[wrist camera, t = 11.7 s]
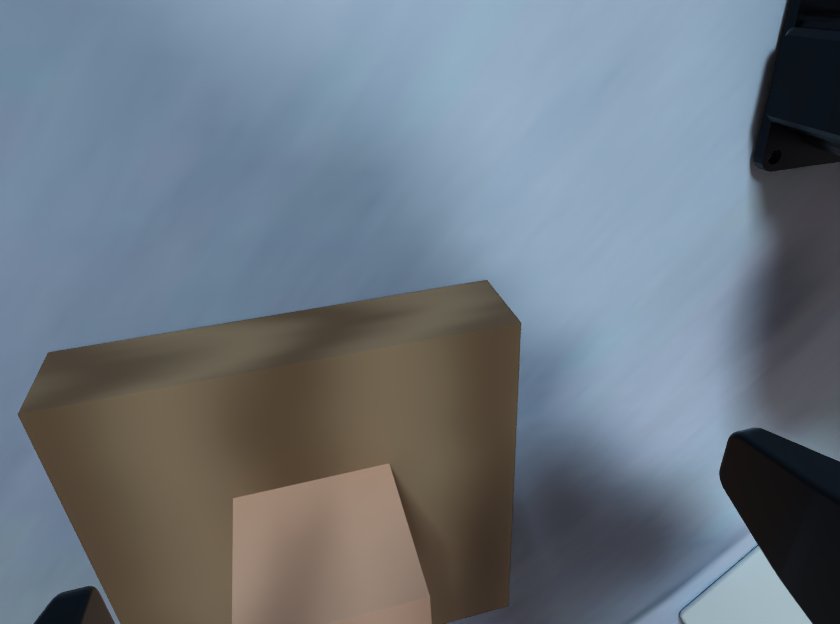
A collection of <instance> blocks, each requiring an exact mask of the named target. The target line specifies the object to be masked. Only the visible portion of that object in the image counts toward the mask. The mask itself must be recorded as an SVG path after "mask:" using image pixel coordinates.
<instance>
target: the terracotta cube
mask: <svg viewBox="0 0 840 624" xmlns="http://www.w3.org/2000/svg"><path fill="white" fill-rule="evenodd" d="M232 624H432V620H431V605H430V595H429V592H428V588H427V585H426V582H425V579H424V575H423V572H422V569H421V566H420V562H419V559H418V556H417V552H416V549H415V546H414V543H413V539H412V536H411V533H410V530H409V526H408V523H407V520H406V516H405V513H404V510H403V507H402V503H401V500H400V497H399V494H398V490H397V487H396V484H395V480H394V477H393V474H392V471H391V467H390V464H384V465H380V466H375V467H371V468H366V469H362V470H357V471H353V472H349V473H344V474H340V475H335V476H331V477H326V478H322V479H317V480H313V481H308V482H304V483H299V484H295V485H290V486H286V487H282V488H277V489H273V490H268V491H264V492H259V493H255V494H250V495H246V496H241V497H237V498H233V556H232Z"/></svg>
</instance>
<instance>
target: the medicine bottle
mask: <svg viewBox="0 0 840 624" xmlns="http://www.w3.org/2000/svg"><path fill="white" fill-rule="evenodd" d="M680 617H681V619H682V621H683V622H684V624H812V623H811V621H810V620H809V618H808V617H807V616H806V614H805V613H804V612H803V610H802V609H801V608H800V606H799V605H798V604H797V602H796V601H795V600H794V598H793V597H792V596H791V594H790V593H789V591H788V590H787V589H786V587H785V586H784V584H783V583H782V582H781V580H780V579H779V577H778V576H777V574H776V573H775V571H774V570H773V568H772V567H771V565H770V563H769V562H768V560H767V559H766V557H765V555H764V554H763V552H762V550H761V549H760V547H759V545H758V546H757V547H756V548H754V549H753V550H752V551H751V552H750V553H748V554H747V555H746V556H745V557H744V558H743V559H741V560H740V561H739V562H738V563H737V564H736V565H734V566H733V567H732V568H731V569H730V570H729V571H727V572H726V573H725V574H724V575H723V576H721V577H720V578H719V579H718V580H717V581H716V582H714V583H713V584H712V585H711V586H710V587H709V588H707V589H706V590H705V591H704V592H703V593H702V594H700V595H699V596H698V597H697V598H696V599H694V600H693V601H692V602H691V603H690V604H689V605H687V606H686V607H685V608H684V609H683V610H682V611H681V613H680Z"/></svg>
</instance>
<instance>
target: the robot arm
mask: <svg viewBox="0 0 840 624" xmlns="http://www.w3.org/2000/svg"><path fill="white" fill-rule="evenodd" d="M772 152H773V154H772V156H771V158H770V159H769V156H770V154H771V153H772ZM768 159H769V160H768ZM834 162H840V0H791V1H790V5H789V10H788V14H787V18H786V22H785V27H784V31H783V35H782V39H781V44H780V48H779V52H778V56H777V61H776V65H775V69H774V73H773V78H772V82H771V86H770V91H769V95H768V99H767V103H766V108H765V112H764V116H763V120H762V125H761V129H760V133H759V137H758V142H757V146H756V150H755V154H754V163H755V165H756V166H757V167H758V168H760V169H763V170H766V171H778V170H785V169H792V168H799V167H806V166H813V165H820V164H827V163H834ZM719 475H720V481H721V483H722V486H723V488H724V490H725V491H726V493H727V495H728V496H729V498H730V500H731V501H732V503H733V505H734V506H735V508H736V509H737V511H738V513H739V514H740V516H741V518H742V519H743V521H744V523H745V524H746V526H747V527H748V529H749V531H750V532H751V534H752V536H753V537H754V539H755V541H756V542H757V544H758V545H759V547H760V549H761V550H762V552H763V554H764V555H765V557H766V559H767V560H768V562H769V563H770V565H771V567H772V568H773V570H774V571H775V573H776V574H777V576H778V577H779V579H780V580H781V582H782V583H783V584H784V586H785V587H786V589H787V590H788V591H789V593H790V594H791V596H792V597H793V598H794V600H795V601H796V602H797V604H798V605H799V606H800V608H801V609H802V610H803V612H804V613H805V614H806V616H807V617H808V618H809V620H810V621H811V623H812V624H840V462H839V461H837V460H834V459H832V458H830V457H827V456H825V455H823V454H820V453H818V452H816V451H813V450H811V449H809V448H806V447H804V446H802V445H799V444H797V443H795V442H792V441H790V440H787V439H785V438H783V437H780V436H778V435H776V434H773V433H771V432H769V431H766V430H764V429H761V428H750V429H746V430H742V431H737V432H734V433H733V434H732V435H731V436H730V437H729V439H728V442H727V445H726V449H725V452H724V456H723V460H722V463H721V467H720V471H719ZM34 624H115V623H114V621H113V619H112V617H111V615H110V613H109V611H108V609H107V607H106V605H105V603H104V601H103V599H102V597H101V595H100V593H99V591H98V590H97V589H96V588H95V587H93V586H87V587H83V588H78V589H74V590H70V591H66V592H63V593H60V594H58V595H57V596H56V597H55V598H53V599H52V601H51V602H50V603H49V604H48V606H47V607H46V608H45V610H44V611H43V612H42V613H41V615H40V616H39V617H38V619H37V620H36V621H35V623H34Z"/></svg>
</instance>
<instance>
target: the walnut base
mask: <svg viewBox="0 0 840 624" xmlns="http://www.w3.org/2000/svg"><path fill="white" fill-rule="evenodd" d="M520 336H521V322H520V321H519V319H518V318H517V317H516V316H515V314H514V313H513V312H512V311H511V309H510V308H509V307H508V306H507V304H506V303H505V302H504V301H503V299H502V298H501V297H500V296H499V294H498V293H497V292H496V291H495V289H494V288H493V287H492V286H491V284H490V283H489V282H488V281H487V280H484V281H478V282H472V283H466V284H460V285H454V286H448V287H442V288H436V289H429V290H423V291H417V292H411V293H405V294H399V295H393V296H387V297H381V298H375V299H369V300H363V301H357V302H351V303H345V304H339V305H333V306H327V307H321V308H315V309H309V310H303V311H297V312H290V313H284V314H278V315H272V316H266V317H260V318H254V319H248V320H242V321H236V322H230V323H224V324H218V325H212V326H206V327H200V328H194V329H188V330H182V331H176V332H170V333H164V334H157V335H151V336H145V337H139V338H133V339H127V340H121V341H115V342H109V343H103V344H97V345H91V346H85V347H79V348H73V349H67V350H61V351H55V352H49V353H48V354H47V356H46V358H45V360H44V362H43V364H42V366H41V368H40V370H39V372H38V374H37V376H36V378H35V380H34V382H33V384H32V386H31V388H30V390H29V392H28V395H27V397H26V399H25V401H24V403H23V405H22V407H21V409H20V411H19V413H18V416H19V418H20V420H21V422H22V424H23V426H24V428H25V430H26V432H27V434H28V436H29V438H30V440H31V442H32V445H33V447H34V449H35V451H36V453H37V455H38V457H39V459H40V461H41V463H42V465H43V467H44V469H45V471H46V473H47V475H48V477H49V479H50V481H51V483H52V485H53V487H54V489H55V491H56V493H57V495H58V497H59V499H60V501H61V504H62V506H63V508H64V510H65V512H66V514H67V516H68V518H69V520H70V522H71V524H72V526H73V528H74V530H75V532H76V534H77V536H78V538H79V540H80V542H81V544H82V546H83V548H84V550H85V552H86V554H87V556H88V558H89V560H90V562H91V565H92V567H93V569H94V571H95V573H96V575H97V577H98V579H99V581H100V583H101V585H102V587H103V589H104V591H105V593H106V595H107V597H108V599H109V601H110V603H111V605H112V607H113V609H114V611H115V613H116V615H117V617H118V619H119V621H120V623H121V624H232V556H233V498H237V497H241V496H246V495H250V494H255V493H259V492H264V491H268V490H273V489H277V488H282V487H286V486H290V485H295V484H299V483H304V482H308V481H313V480H317V479H322V478H326V477H331V476H335V475H340V474H344V473H349V472H353V471H357V470H362V469H366V468H371V467H375V466H380V465H384V464H390V467H391V471H392V474H393V477H394V480H395V484H396V487H397V490H398V494H399V497H400V500H401V503H402V507H403V510H404V513H405V516H406V520H407V523H408V526H409V530H410V533H411V536H412V539H413V543H414V546H415V549H416V552H417V556H418V559H419V562H420V566H421V569H422V572H423V575H424V579H425V582H426V585H427V588H428V592H429V595H430V605H431V620H432V624H445V623H449V622H452V621H456V620H459V619H463V618H467V617H470V616H474V615H477V614H481V613H484V612H488V611H492V610H495V609H499V608H502V607H506V606H508V604H509V582H510V559H511V537H512V515H513V492H514V470H515V448H516V425H517V403H518V381H519V359H520Z"/></svg>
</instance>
